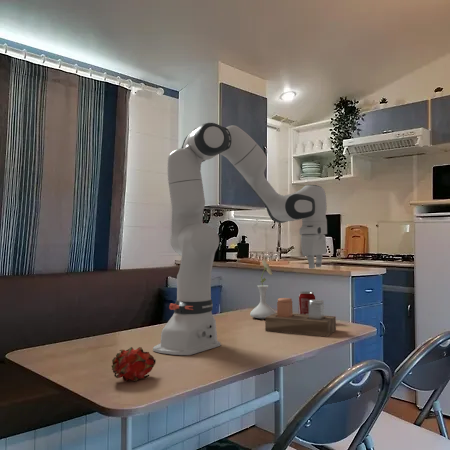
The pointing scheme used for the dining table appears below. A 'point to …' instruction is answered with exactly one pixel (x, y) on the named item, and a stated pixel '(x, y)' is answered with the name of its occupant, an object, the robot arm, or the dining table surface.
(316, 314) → the metal plunger
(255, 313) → the flower in vase
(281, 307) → the terracotta plunger
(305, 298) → the soda can
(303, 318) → the walnut block
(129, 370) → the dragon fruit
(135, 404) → the dining table surface
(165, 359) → the dining table surface
